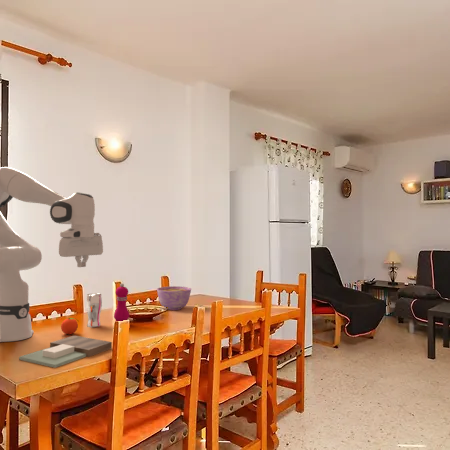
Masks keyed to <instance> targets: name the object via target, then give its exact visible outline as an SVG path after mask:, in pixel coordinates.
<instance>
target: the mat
mask: <svg viewBox="0 0 450 450" xmlns="http://www.w3.org/2000/svg"><path fill="white" fill-rule="evenodd" d="M48 348H52V347H50V346H49V347H47V348H44V349H40V350H37V351H34V352H30V353H27V354H23V355H20V356H19V357H18V359H19V360H21V361H24V362H28V363H32V364H36V365H37V364H38V365H42V366H45V367H50V368H55V369H56V368H59V367H62V366H63V365H67V364H70V363H72V362H76V361H78V360H80V359H84V358H86V357H87V356H86V355H87V354H85V353H80V352H75V351H74V352H72V353H69V354H66V355H63V356H60V357H57V358H50V357H46V356H43V350H45V349H48Z"/></svg>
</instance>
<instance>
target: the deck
mask: <svg viewBox="0 0 450 450" xmlns="http://www.w3.org/2000/svg"><path fill="white" fill-rule="evenodd" d="M112 343H113V342H112V341H107V340H103V339H96V338H92V337H91V338H90V337H87V336H86V337H85V336H79V335H72V336H71V335H70V336H67V337H64V338H61V339H57V340H54V341H51V342H50V343H49V348H50V347H55V346H58V345H61V344H65V345H70V346H74V351H75V352H80V353H85V354H87V355H86V357H87V358H89V357H92V356H94V355H95V356H96V355H97V354H99V353H103V352H106V351H108V350H112V349H113V346H112V345H113V344H112Z"/></svg>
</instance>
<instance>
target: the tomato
mask: <svg viewBox="0 0 450 450" xmlns="http://www.w3.org/2000/svg"><path fill="white" fill-rule="evenodd" d="M78 323H79V320H77V319H76V318H74V317H69V318H66V319H64V320H63V321H62V322H61V324H60V328H61V331H62V332H63V333H64V334H65V335H73V334H74V333H76V331H77V330H78V325H79V324H78Z"/></svg>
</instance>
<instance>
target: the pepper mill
mask: <svg viewBox="0 0 450 450" xmlns="http://www.w3.org/2000/svg"><path fill="white" fill-rule="evenodd" d="M128 294H129V289H128V288H127V287H126V286H125V284H124V283H123V282H122V283H120V284H119V286H118V287H117V288H116V290H115V295H116V301H117V306H116V309H115V311H114V314H113V318H114V323H115V322H116V321H123V320H128V319H129V318H130V312H129V310H128V307H127V300H128V296H127V295H128Z"/></svg>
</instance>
